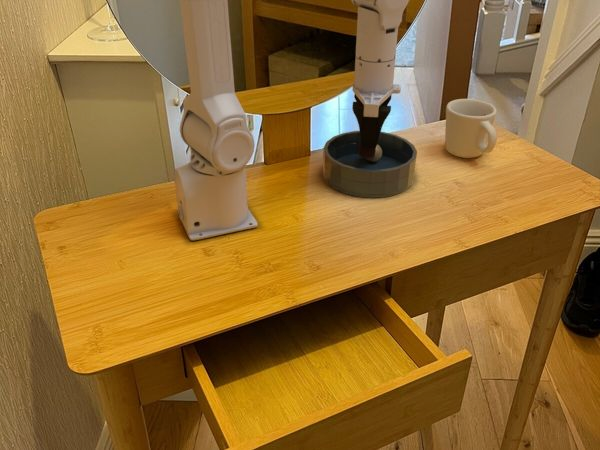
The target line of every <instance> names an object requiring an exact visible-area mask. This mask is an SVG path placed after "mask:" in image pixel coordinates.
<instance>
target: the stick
mask: <svg viewBox="0 0 600 450" xmlns="http://www.w3.org/2000/svg"><path fill="white" fill-rule="evenodd" d="M375 151H376V148H364V147H362V144H361V139H360V146H359V152H358V154H359V155H360V156H361V157H363V158H373V157H374V156H375Z"/></svg>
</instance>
